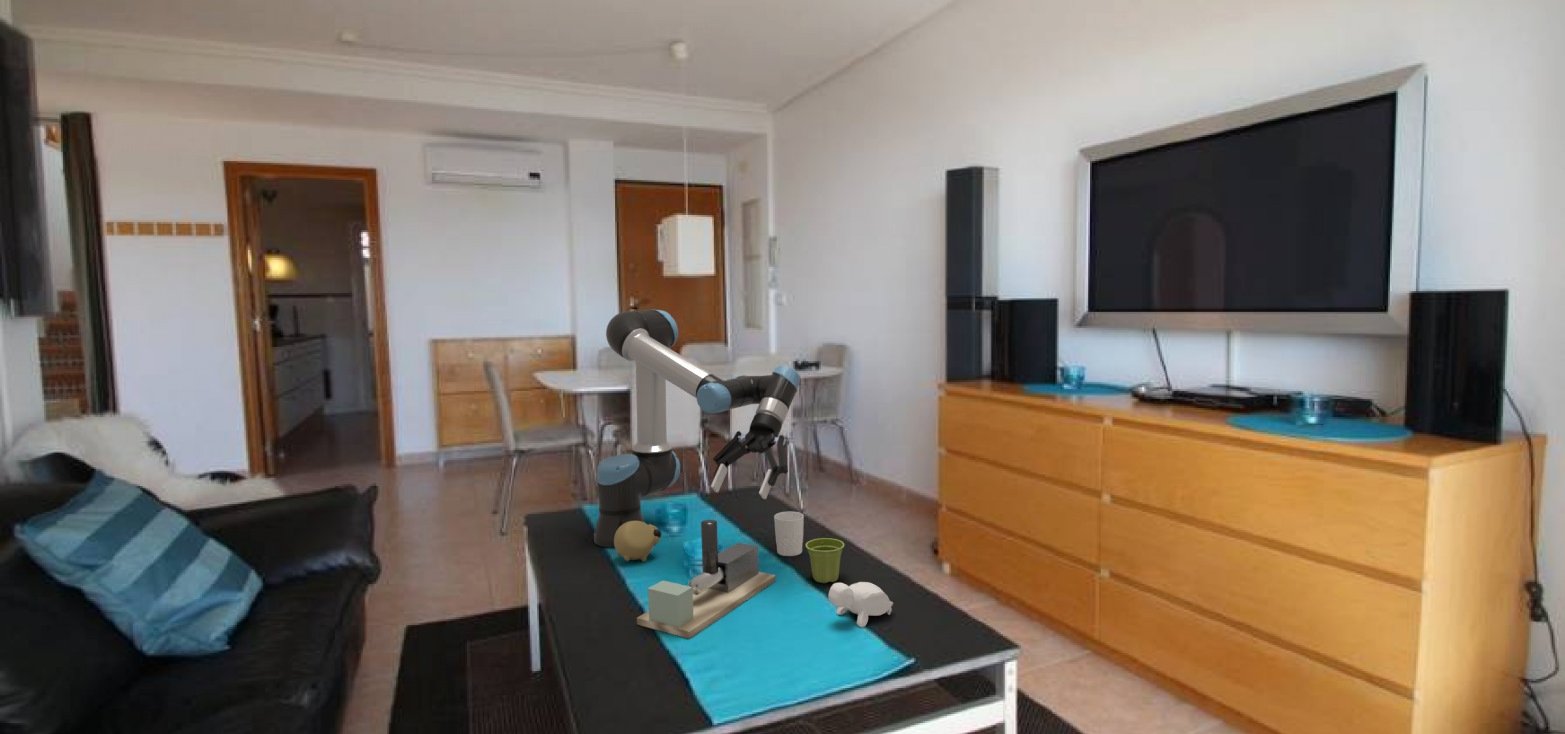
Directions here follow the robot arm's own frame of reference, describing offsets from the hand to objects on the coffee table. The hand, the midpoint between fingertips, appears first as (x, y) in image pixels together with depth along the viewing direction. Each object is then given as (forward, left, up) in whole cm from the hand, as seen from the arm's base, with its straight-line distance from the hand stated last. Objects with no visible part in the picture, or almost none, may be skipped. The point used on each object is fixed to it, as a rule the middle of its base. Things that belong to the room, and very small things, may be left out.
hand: (737, 492), depth 181 cm
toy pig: (-33, +1, -23) cm, 40 cm away
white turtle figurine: (+33, -4, -23) cm, 40 cm away
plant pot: (+17, +12, -23) cm, 31 cm away
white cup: (0, +24, -23) cm, 33 cm away
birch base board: (0, -12, -22) cm, 25 cm away
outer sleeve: (0, -2, -21) cm, 21 cm away
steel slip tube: (0, -7, -19) cm, 20 cm away
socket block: (0, -26, -21) cm, 33 cm away
